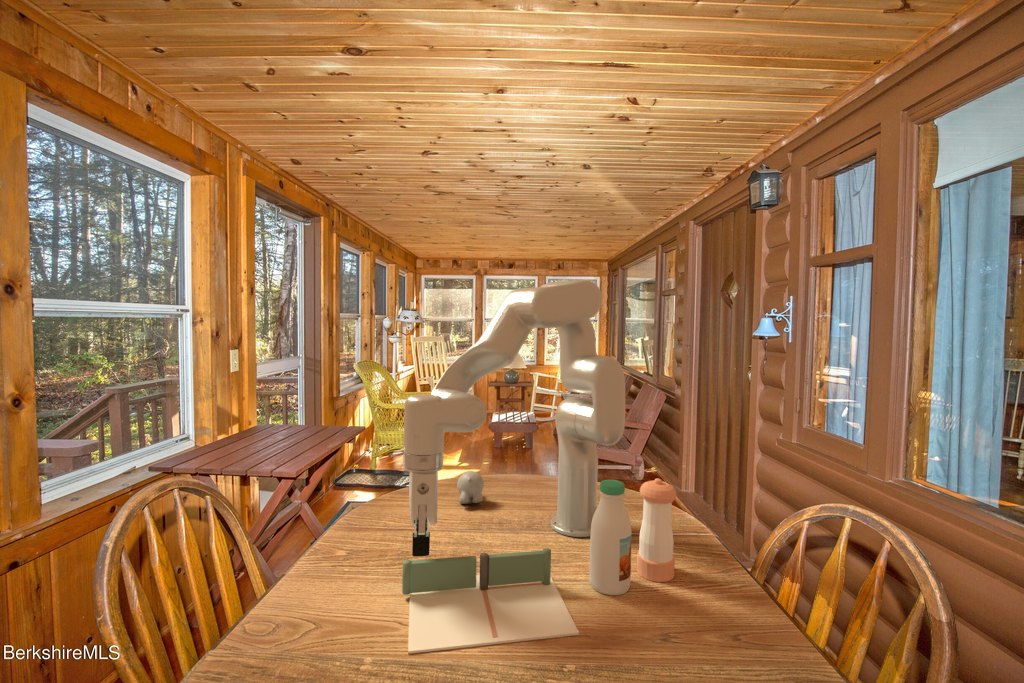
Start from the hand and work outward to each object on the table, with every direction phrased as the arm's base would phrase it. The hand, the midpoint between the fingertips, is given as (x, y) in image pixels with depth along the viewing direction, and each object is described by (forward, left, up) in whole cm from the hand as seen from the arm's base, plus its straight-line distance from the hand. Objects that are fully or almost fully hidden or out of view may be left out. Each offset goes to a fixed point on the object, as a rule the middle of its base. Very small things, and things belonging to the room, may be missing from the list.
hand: (420, 554), depth 94 cm
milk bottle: (-36, +7, -5) cm, 37 cm away
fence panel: (-3, +5, -4) cm, 8 cm away
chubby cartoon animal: (-14, -39, -6) cm, 41 cm away
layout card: (-12, +10, -5) cm, 16 cm away
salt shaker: (-47, +4, -5) cm, 47 cm away
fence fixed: (-18, +5, -5) cm, 19 cm away
